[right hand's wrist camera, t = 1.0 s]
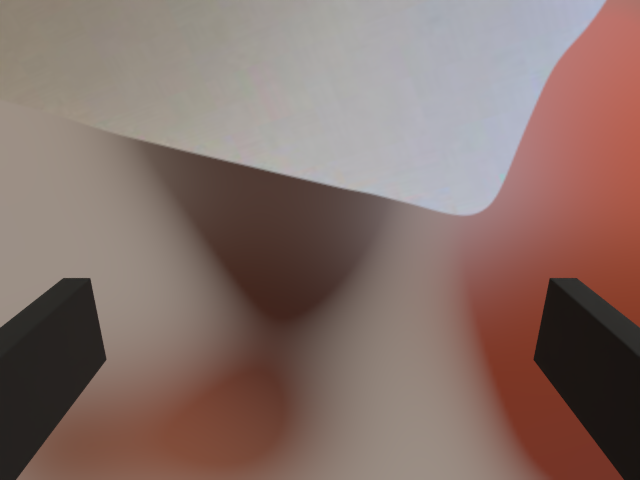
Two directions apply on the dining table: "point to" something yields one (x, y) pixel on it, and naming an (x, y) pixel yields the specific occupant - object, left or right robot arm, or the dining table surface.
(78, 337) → the right robot arm
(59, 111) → the dining table surface
